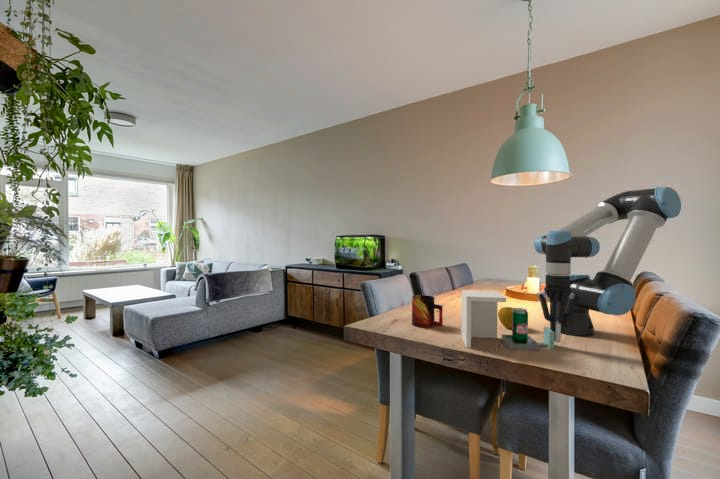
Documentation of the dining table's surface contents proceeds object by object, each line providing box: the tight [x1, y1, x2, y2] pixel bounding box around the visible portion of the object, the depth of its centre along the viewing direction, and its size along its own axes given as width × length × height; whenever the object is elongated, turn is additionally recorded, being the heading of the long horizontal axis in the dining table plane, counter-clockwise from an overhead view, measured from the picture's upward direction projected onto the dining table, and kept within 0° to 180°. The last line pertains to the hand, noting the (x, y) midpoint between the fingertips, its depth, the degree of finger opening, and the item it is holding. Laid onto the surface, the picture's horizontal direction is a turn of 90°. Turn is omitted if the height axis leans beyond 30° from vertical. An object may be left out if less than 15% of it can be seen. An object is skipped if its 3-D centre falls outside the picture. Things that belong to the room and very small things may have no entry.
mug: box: [411, 294, 444, 329], centre depth 143 cm, size 10×14×12 cm
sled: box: [501, 326, 555, 351], centre depth 118 cm, size 15×10×6 cm
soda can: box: [511, 307, 529, 344], centre depth 118 cm, size 5×5×12 cm
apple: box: [497, 306, 515, 330], centre depth 139 cm, size 9×9×9 cm
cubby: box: [461, 289, 507, 349], centre depth 120 cm, size 13×13×18 cm
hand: (556, 340), depth 116 cm, fingers closed
